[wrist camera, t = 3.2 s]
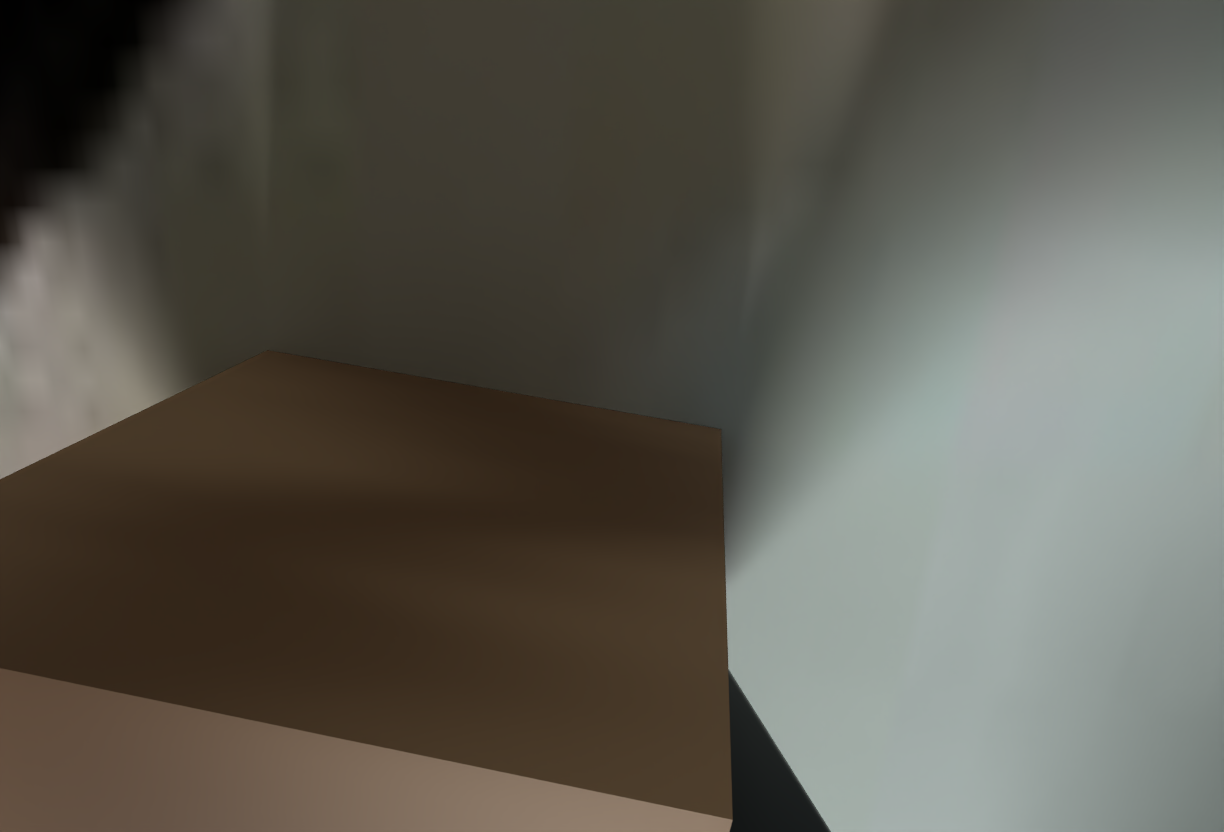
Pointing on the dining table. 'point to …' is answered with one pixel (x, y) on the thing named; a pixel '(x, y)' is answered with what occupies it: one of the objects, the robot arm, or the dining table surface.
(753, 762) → the robot arm
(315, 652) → the walnut cube
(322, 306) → the dining table surface
